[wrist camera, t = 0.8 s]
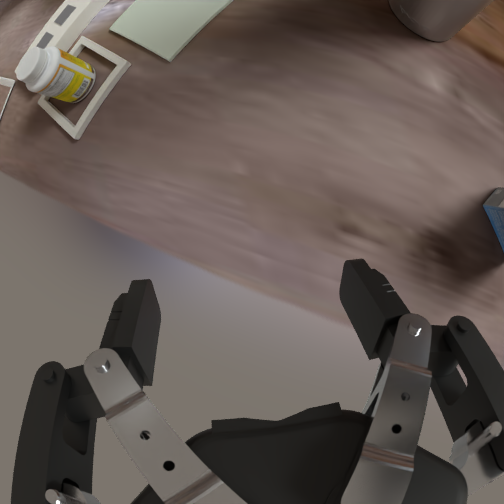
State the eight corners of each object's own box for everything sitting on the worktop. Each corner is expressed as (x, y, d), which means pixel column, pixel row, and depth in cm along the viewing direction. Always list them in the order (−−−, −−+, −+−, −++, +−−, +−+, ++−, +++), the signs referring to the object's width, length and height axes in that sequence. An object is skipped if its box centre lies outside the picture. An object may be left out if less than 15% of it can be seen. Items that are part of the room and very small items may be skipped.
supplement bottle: (70, 70, 27) (19, 49, 17) (101, 61, 26) (50, 32, 16) (62, 107, 28) (7, 93, 18) (93, 100, 27) (36, 79, 17)
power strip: (113, -33, 22) (104, -43, 19) (151, -25, 23) (142, -37, 20) (26, 75, 27) (12, 71, 24) (49, 97, 28) (34, 92, 25)
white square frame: (86, 38, 26) (81, 35, 24) (131, 64, 26) (126, 60, 25) (41, 104, 28) (36, 102, 27) (78, 139, 28) (73, 138, 27)
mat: (173, -30, 22) (171, -32, 22) (240, -6, 23) (240, -8, 22) (111, 30, 25) (109, 28, 25) (170, 62, 26) (168, 60, 25)
